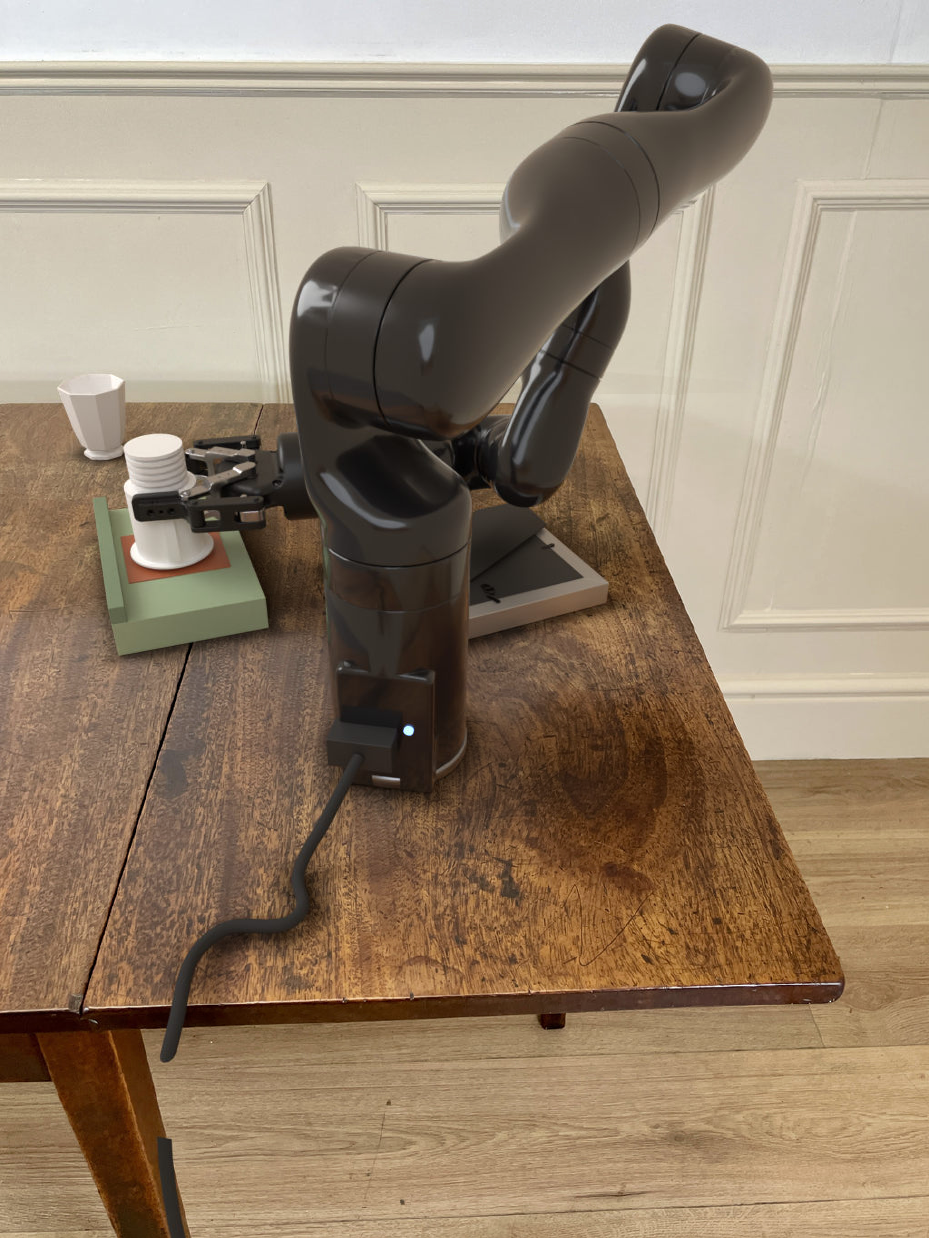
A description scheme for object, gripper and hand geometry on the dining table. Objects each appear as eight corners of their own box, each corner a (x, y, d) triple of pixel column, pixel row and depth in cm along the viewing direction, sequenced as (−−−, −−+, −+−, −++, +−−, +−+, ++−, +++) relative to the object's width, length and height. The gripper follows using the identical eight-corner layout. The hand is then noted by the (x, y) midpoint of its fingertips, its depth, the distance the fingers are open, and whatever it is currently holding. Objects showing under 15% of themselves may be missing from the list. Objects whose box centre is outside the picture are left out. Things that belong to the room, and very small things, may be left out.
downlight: (128, 536, 84) (105, 431, 79) (207, 523, 86) (191, 421, 81) (134, 581, 78) (110, 471, 73) (220, 567, 80) (203, 459, 75)
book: (227, 521, 94) (222, 480, 91) (268, 627, 79) (263, 582, 76) (101, 540, 90) (92, 498, 88) (118, 656, 75) (107, 608, 72)
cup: (75, 469, 103) (59, 398, 99) (67, 435, 111) (52, 368, 106) (141, 460, 105) (129, 390, 101) (129, 427, 113) (117, 361, 109)
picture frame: (519, 525, 95) (322, 568, 87) (521, 500, 93) (321, 541, 85) (606, 603, 83) (388, 660, 75) (610, 575, 81) (387, 631, 74)
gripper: (326, 401, 85) (136, 413, 83) (340, 468, 74) (119, 484, 71) (331, 477, 90) (151, 490, 87) (345, 551, 78) (138, 570, 75)
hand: (137, 488), depth 79 cm, fingers closed on downlight, 7 cm apart
